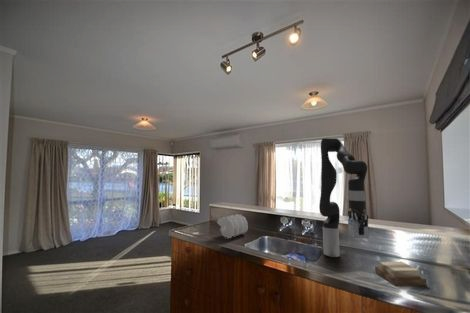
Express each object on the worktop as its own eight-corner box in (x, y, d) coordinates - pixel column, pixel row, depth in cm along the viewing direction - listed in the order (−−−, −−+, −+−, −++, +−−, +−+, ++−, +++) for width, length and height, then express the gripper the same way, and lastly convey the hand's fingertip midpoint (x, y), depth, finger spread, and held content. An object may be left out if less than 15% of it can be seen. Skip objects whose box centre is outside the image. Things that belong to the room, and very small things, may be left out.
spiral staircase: (245, 238, 180) (227, 244, 161) (231, 227, 191) (212, 231, 172) (254, 220, 178) (236, 224, 158) (239, 209, 189) (220, 211, 169)
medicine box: (363, 235, 108) (362, 218, 109) (369, 238, 104) (368, 220, 105) (348, 235, 108) (347, 218, 109) (353, 238, 104) (352, 220, 104)
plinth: (375, 272, 109) (374, 260, 110) (401, 272, 110) (400, 260, 110) (396, 286, 95) (395, 272, 96) (426, 286, 96) (425, 272, 96)
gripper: (373, 201, 101) (375, 237, 99) (355, 197, 115) (357, 229, 113) (358, 201, 100) (359, 237, 99) (342, 197, 115) (343, 229, 113)
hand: (358, 233), depth 106 cm, fingers closed on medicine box, 4 cm apart
